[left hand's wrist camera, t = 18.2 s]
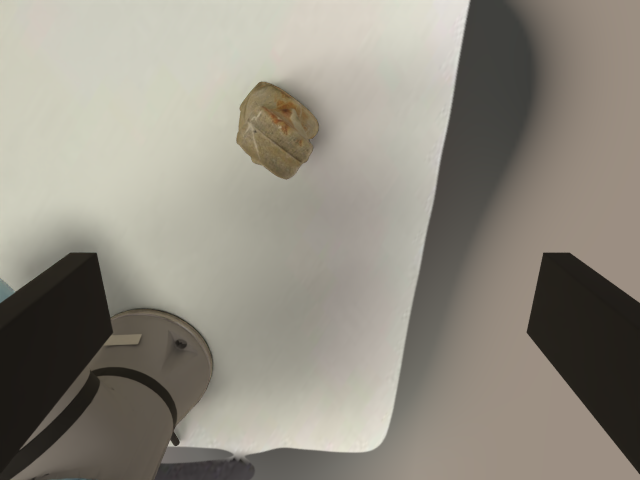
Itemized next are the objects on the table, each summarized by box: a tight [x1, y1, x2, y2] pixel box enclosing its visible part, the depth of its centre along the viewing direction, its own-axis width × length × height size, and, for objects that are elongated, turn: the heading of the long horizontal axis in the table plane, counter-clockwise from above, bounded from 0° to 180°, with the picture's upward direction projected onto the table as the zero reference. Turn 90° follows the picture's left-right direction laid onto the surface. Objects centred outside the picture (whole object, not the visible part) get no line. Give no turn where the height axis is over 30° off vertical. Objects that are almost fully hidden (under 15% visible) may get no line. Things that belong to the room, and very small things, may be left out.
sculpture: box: [236, 82, 319, 179], centre depth 36 cm, size 6×7×15 cm
